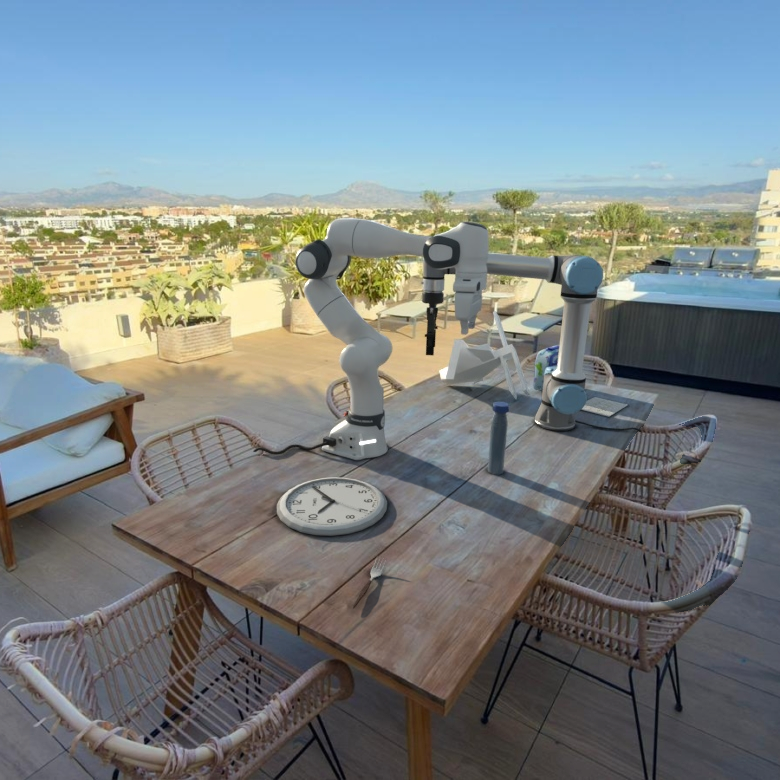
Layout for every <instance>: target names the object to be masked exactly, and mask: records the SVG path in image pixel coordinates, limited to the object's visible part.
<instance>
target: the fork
mask: <svg viewBox="0 0 780 780" xmlns="http://www.w3.org/2000/svg"><path fill="white" fill-rule="evenodd" d="M377 560H378V561H377ZM380 560H381V562H380ZM383 561H384V562H383ZM386 561H387V559H385V560H384V558H382V559H381V558H379V559H378V555H376V558H375V561H374V563H373V566H372V568H371V570H370V576H371V577H370V578H369V580H368V581H367V582H366V583H365V584H364V586H363V587H362V588H361V590H360V591H359V594H358V596H357V598H356V599H355V602H354V605H353V607H352V609H355V608H356V607H357V606H358V604H359V603H360V601H361V600H362V599H363V597H364V596H365V595H366V594H367V593H368V591H369V588H370V585H371V583H372V581H373V580H374V579H375V578H379V577H381V576H382V575H383V573H384V569H385V565H386V563H387V562H386Z"/></svg>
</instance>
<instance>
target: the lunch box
mask: <svg viewBox="0 0 780 780" xmlns="http://www.w3.org/2000/svg"><path fill="white" fill-rule="evenodd" d="M559 345H560V344H556V345H553V346H549V347H546V348H544V349H541V350H539V351H538V353H537V354H536V357H535V361H534V371H533V372H534V373H533V389H534V390H535V391H539V392H543V382H544V373H545V369H546V368H547V367H553V366H557V363H558V354H559Z"/></svg>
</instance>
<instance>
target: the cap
mask: <svg viewBox="0 0 780 780" xmlns="http://www.w3.org/2000/svg"><path fill="white" fill-rule="evenodd" d="M509 411H510V403H508V402H505V401H494V402H493V404H492V412H494V413H495V412H497V413H506V414H507V413H509Z"/></svg>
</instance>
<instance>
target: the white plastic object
mask: <svg viewBox="0 0 780 780" xmlns="http://www.w3.org/2000/svg"><path fill="white" fill-rule="evenodd" d="M492 315H493V319H494V321H495V324H496V325H495V326H496V328H497V332H498V335H499V338H500V342H501V345H502V347H500V348H498V349H496V350H495V349H493V348H492V347H491V346H490V344H489V343H488V342H487V343H483V344H479V345H473V346H469V345H468V343H466V342H465V340H464V339H463V338H460V339H458V338H454V340H453V344H452V349H451V353H450V357H449V362H448V366H446V367H444V368H442V369H440V370H439V371H438V372H439V376H440V381H442V383H443V384H444V385H445V386H449V385H458V384H467V383H468V384H469V383H473V384H477V383H480V382H482V381H484V378H485V377H486V376H487V375H489V374H490V373H492V372H494V371H495V370H496V369H497V368H499V367H500V366H502V370H503V373H504V376H505V380H506V383H507V386H508V390H509V393H510V394H511V395H512V397H513V398H514V399H515V400H517V392H516V391H517V390H516V388H515V385H514V381H513V378H512V375H511V371H510V369H509V365H508V361H510V360H513V363H514V366H515V369H516V372H517V376H518V380H519V382H520V385H521V389H522V391H523V393H524V395H525V396H526V397H528V396H531V395H530V390H529V388H528V387H529V386H528V384H527V381H526V378H525V375H524V371H523V369H522V368H523V367H522V366H521V362H520V359H519V355H518V352H517V349H516V347H515V346H514V345H513V343H511V344H508V341H507V337H506V334H505V331H504V328H503V325H502V321H501V318H500V315H499V314H498V312H497V311H496V310H495V311H492Z"/></svg>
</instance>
